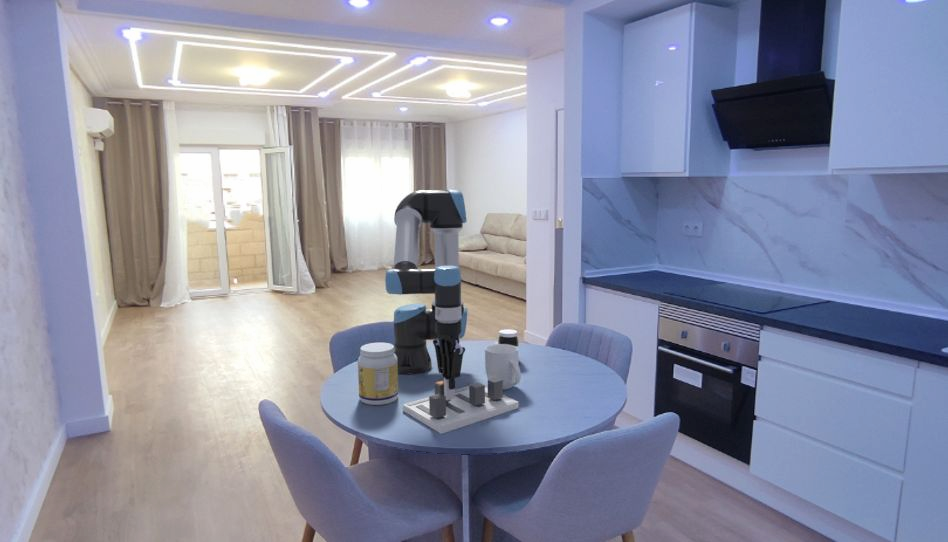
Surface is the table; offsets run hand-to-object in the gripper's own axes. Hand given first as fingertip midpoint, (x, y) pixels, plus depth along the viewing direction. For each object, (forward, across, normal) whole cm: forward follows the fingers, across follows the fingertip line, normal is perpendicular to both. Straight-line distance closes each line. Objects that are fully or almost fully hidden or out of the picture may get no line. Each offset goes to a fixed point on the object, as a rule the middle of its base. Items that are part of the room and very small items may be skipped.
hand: (449, 398), depth 161 cm
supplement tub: (+5, -23, -11) cm, 26 cm away
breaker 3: (+2, +4, +7) cm, 8 cm away
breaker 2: (+2, +4, -7) cm, 9 cm away
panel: (+4, 0, +4) cm, 6 cm away
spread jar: (+5, -28, +45) cm, 53 cm away
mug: (+5, -6, +26) cm, 27 cm away
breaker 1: (+2, -3, 0) cm, 4 cm away
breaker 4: (+2, +4, +14) cm, 15 cm away
